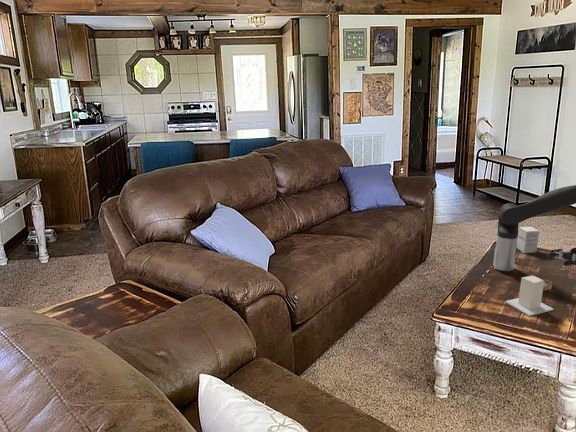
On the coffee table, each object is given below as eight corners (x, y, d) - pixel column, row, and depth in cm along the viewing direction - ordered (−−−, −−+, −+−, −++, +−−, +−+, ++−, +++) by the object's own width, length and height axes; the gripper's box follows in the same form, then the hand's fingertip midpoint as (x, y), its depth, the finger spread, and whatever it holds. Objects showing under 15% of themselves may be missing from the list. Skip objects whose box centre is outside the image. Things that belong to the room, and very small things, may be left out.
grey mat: (529, 316, 190) (529, 314, 190) (505, 302, 202) (505, 301, 201) (553, 310, 194) (553, 308, 194) (528, 296, 206) (528, 295, 206)
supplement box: (516, 248, 260) (519, 227, 256) (528, 247, 261) (531, 226, 257) (523, 253, 253) (526, 231, 249) (536, 252, 254) (539, 230, 250)
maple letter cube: (545, 290, 211) (546, 283, 210) (538, 287, 214) (539, 280, 213) (551, 289, 212) (552, 281, 211) (544, 286, 215) (545, 278, 214)
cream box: (529, 309, 194) (533, 283, 190) (518, 303, 199) (521, 277, 196) (540, 306, 196) (544, 280, 192) (528, 300, 201) (532, 275, 198)
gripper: (571, 241, 214) (543, 246, 209) (600, 252, 201) (571, 257, 196) (568, 256, 216) (541, 261, 211) (596, 268, 203) (568, 274, 198)
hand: (555, 259), depth 204 cm, fingers open, 8 cm apart
